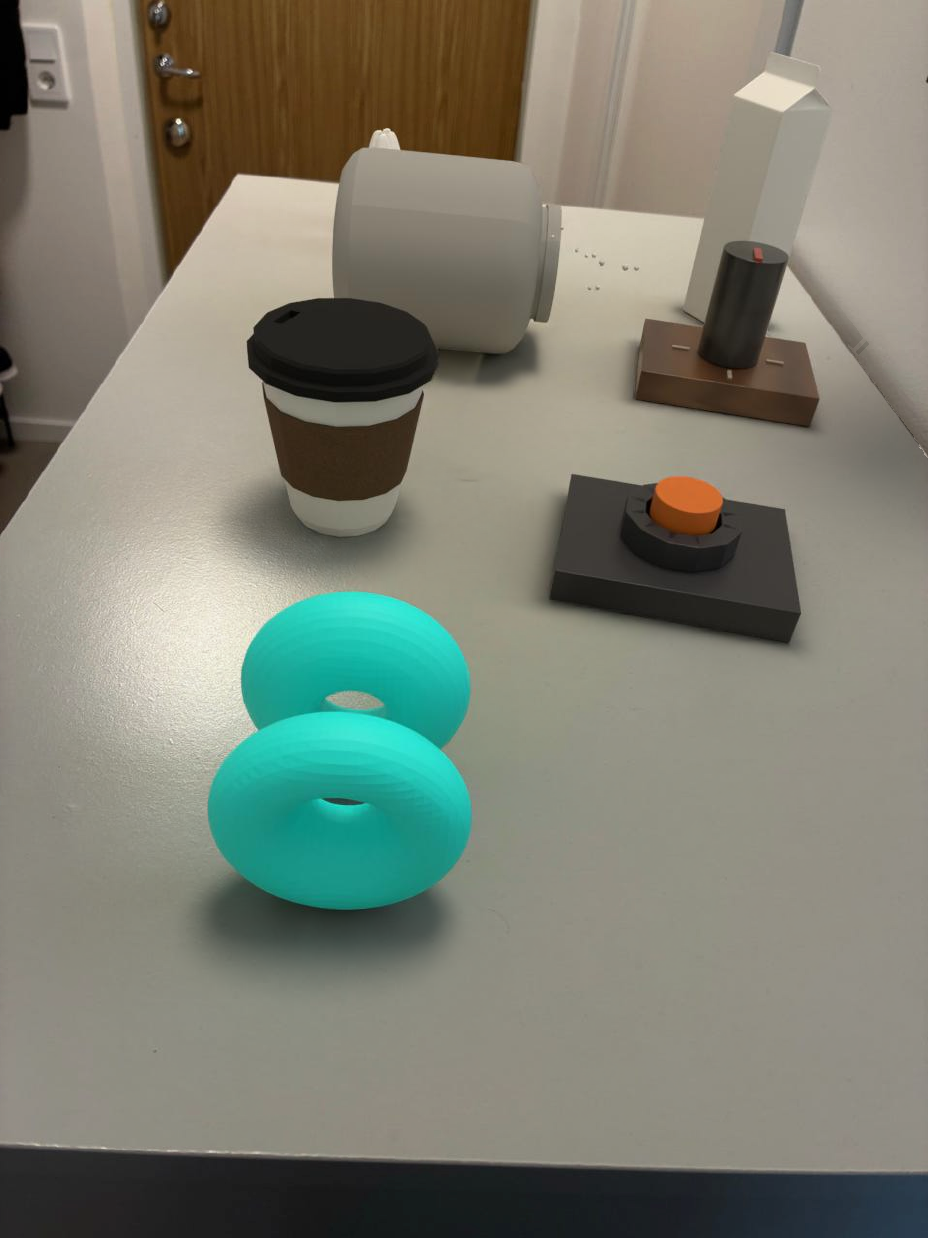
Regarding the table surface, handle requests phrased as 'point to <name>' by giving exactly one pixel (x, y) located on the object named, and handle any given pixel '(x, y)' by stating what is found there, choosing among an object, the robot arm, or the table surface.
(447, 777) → the donuts
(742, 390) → the dial panel
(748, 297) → the temp dial
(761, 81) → the milk
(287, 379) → the coffee cup
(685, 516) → the power button
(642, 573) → the grey button base
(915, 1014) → the table surface
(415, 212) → the jar
